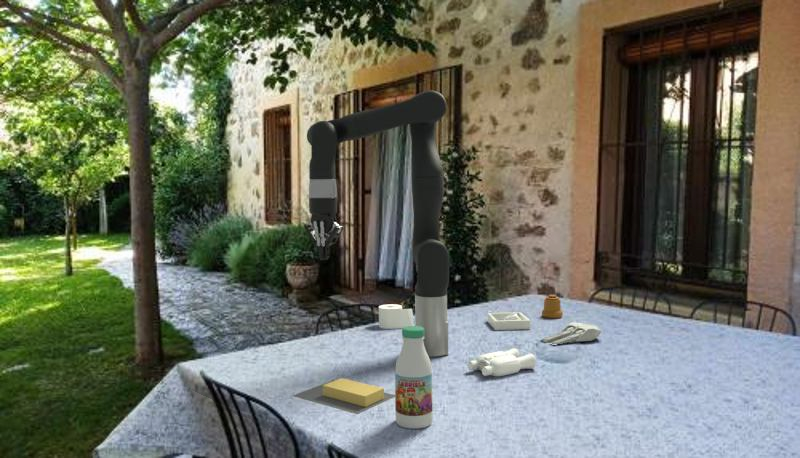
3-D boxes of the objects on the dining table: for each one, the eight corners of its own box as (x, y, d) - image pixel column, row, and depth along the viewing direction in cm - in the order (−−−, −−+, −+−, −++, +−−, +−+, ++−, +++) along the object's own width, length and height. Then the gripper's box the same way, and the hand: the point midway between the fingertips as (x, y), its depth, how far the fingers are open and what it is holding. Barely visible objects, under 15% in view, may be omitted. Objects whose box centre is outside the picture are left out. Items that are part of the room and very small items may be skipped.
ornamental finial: (559, 314, 231) (564, 318, 224) (539, 314, 231) (544, 319, 224) (560, 293, 231) (565, 296, 223) (539, 293, 231) (544, 297, 223)
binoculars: (537, 371, 164) (537, 353, 163) (490, 382, 155) (490, 363, 155) (510, 361, 173) (510, 345, 172) (464, 371, 164) (464, 354, 164)
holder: (520, 320, 222) (520, 312, 221) (530, 329, 209) (530, 320, 208) (487, 321, 221) (487, 313, 221) (494, 330, 208) (494, 321, 208)
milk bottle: (394, 416, 133) (393, 324, 131) (430, 414, 133) (429, 323, 132) (397, 430, 125) (395, 333, 123) (435, 429, 126) (434, 331, 124)
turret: (537, 347, 195) (535, 333, 194) (586, 331, 203) (585, 317, 202) (558, 355, 186) (556, 340, 185) (608, 337, 194) (607, 323, 193)
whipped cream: (517, 332, 209) (518, 318, 208) (498, 328, 212) (499, 315, 211) (524, 325, 216) (525, 312, 215) (505, 322, 219) (506, 308, 218)
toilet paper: (413, 327, 213) (413, 307, 213) (381, 329, 211) (381, 309, 210) (408, 322, 221) (407, 303, 221) (376, 324, 219) (376, 305, 218)
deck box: (322, 385, 144) (365, 396, 137) (341, 378, 150) (383, 388, 142) (322, 396, 145) (365, 407, 137) (341, 388, 150) (384, 399, 142)
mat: (292, 397, 145) (292, 395, 145) (333, 381, 156) (333, 379, 156) (357, 415, 133) (357, 413, 133) (397, 397, 144) (396, 395, 144)
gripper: (295, 196, 169) (297, 259, 171) (331, 196, 161) (332, 262, 163) (315, 195, 175) (316, 256, 177) (350, 195, 167) (351, 259, 169)
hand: (324, 259), depth 170 cm, fingers closed
